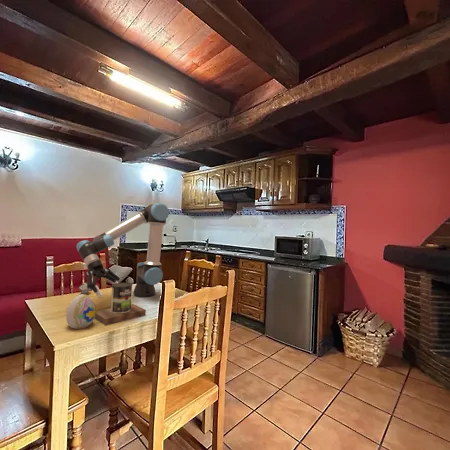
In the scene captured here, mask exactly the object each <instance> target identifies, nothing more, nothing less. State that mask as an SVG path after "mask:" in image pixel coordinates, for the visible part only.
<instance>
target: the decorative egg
mask: <svg viewBox="0 0 450 450" xmlns="http://www.w3.org/2000/svg"><path fill="white" fill-rule="evenodd" d="M66 309H67V310H66V313H65V316H66V317H65V319H66V323H67V325H68V326H69V327H70V328H71V329H74V330H75V329H76V330H79V329H80V330H81V329H85V328H87V327H90V325H92V323H93V321H94V320H95V318H94V317H95V312H96V306H95V303H94V301H93V299H92V298H91V297H90V296H89V295H88V294H85V293H80V294H79V295H76V296H75V297H74V298H73V299H72V300H71V302H69V305H68V307H67V308H66Z"/></svg>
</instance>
